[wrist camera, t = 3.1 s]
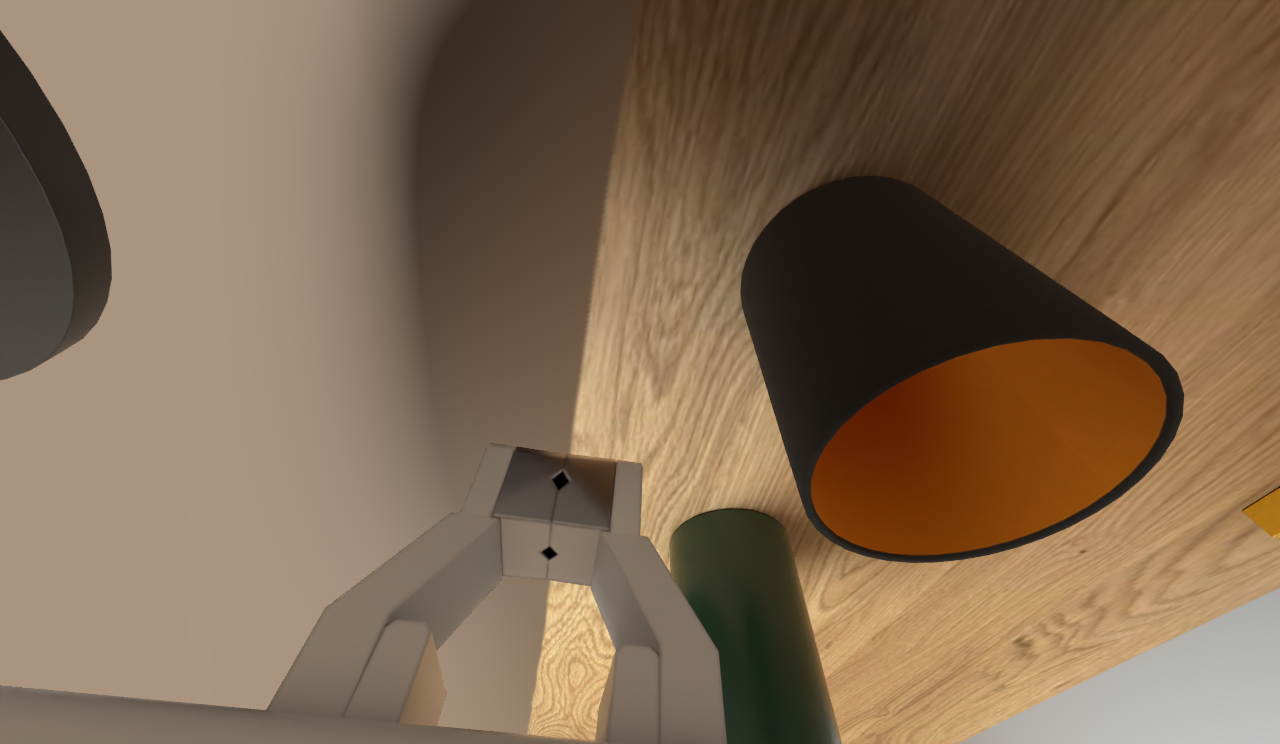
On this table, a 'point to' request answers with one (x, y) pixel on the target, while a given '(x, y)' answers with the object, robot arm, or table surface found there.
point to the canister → (755, 627)
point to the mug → (942, 379)
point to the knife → (1267, 513)
